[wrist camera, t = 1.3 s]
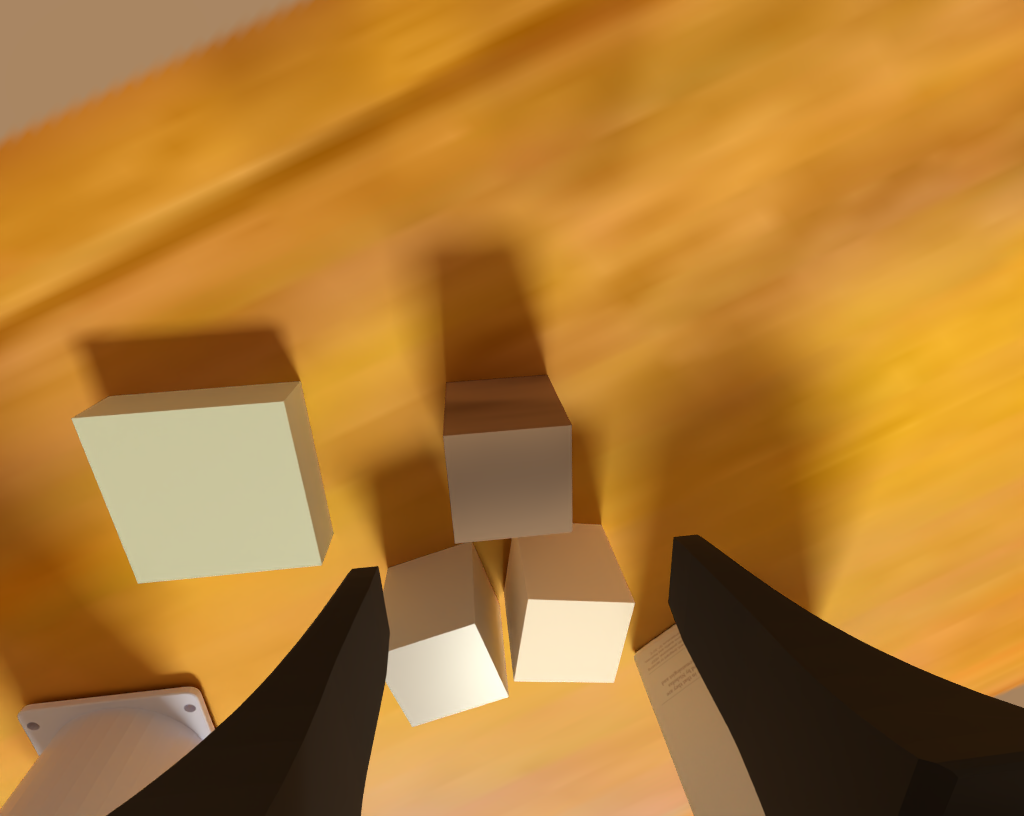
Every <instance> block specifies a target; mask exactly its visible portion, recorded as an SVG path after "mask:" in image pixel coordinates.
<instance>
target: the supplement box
mask: <svg viewBox="0 0 1024 816" xmlns="http://www.w3.org/2000/svg"><path fill="white" fill-rule="evenodd" d="M634 659H635V662H636V665H637V668H638V670H639V673H640V676H641V678H642V681H643V684H644V687H645V689H646V692H647V694H648V697H649V700H650V702H651V705H652V707H653V710H654V713H655V715H656V718H657V720H658V723H659V726H660V728H661V731H662V733H663V736H664V739H665V741H666V744H667V747H668V749H669V752H670V755H671V757H672V760H673V762H674V765H675V768H676V770H677V773H678V776H679V778H680V781H681V783H682V786H683V789H684V791H685V794H686V796H687V799H688V801H689V804H690V807H691V809H692V812H693V814H694V816H765V814H764V811H763V808H762V806H761V803H760V801H759V798H758V796H757V793H756V791H755V788H754V786H753V783H752V781H751V779H750V776H749V774H748V771H747V769H746V767H745V764H744V762H743V759H742V757H741V754H740V752H739V750H738V748H737V745H736V743H735V741H734V739H733V737H732V735H731V733H730V731H729V729H728V727H727V725H726V723H725V721H724V719H723V717H722V715H721V714H720V712H719V710H718V708H717V706H716V704H715V702H714V700H713V698H712V696H711V695H710V693H709V691H708V689H707V687H706V685H705V683H704V681H703V679H702V677H701V676H700V674H699V672H698V670H697V668H696V666H695V664H694V662H693V660H692V658H691V656H690V654H689V652H688V651H687V649H686V647H685V645H684V643H683V640H682V638H681V635H680V633H679V630H678V628H677V625H676V624H675V625H673V626H672V627H671V628H669V629H668V630H666V631H665V632H663V633H662V634H661V635H659V636H658V637H657V638H655V639H654V640H652V641H650V642H649V643H648V644H646V645H645V646H644V647H643V648H641V649H640V650H639V651H637V652H636V653H635V655H634Z"/></svg>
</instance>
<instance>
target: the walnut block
mask: <svg viewBox="0 0 1024 816" xmlns="http://www.w3.org/2000/svg"><path fill="white" fill-rule="evenodd" d="M443 439H444V448H445V458H446V467H447V476H448V485H449V494H450V503H451V513H452V522H453V531H454V540H455V544H456V543H466V542H477V541H487V540H497V539H507V538H517V537H527V536H538V535H548V534H558V533H568V532H572V425H571V423H570V421H569V419H568V417H567V415H566V412H565V410H564V408H563V406H562V404H561V402H560V400H559V398H558V396H557V394H556V392H555V390H554V388H553V386H552V384H551V382H550V379H549V377H548V375H537V376H524V377H511V378H498V379H485V380H472V381H460V382H447V383H446V398H445V414H444V430H443Z"/></svg>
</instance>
